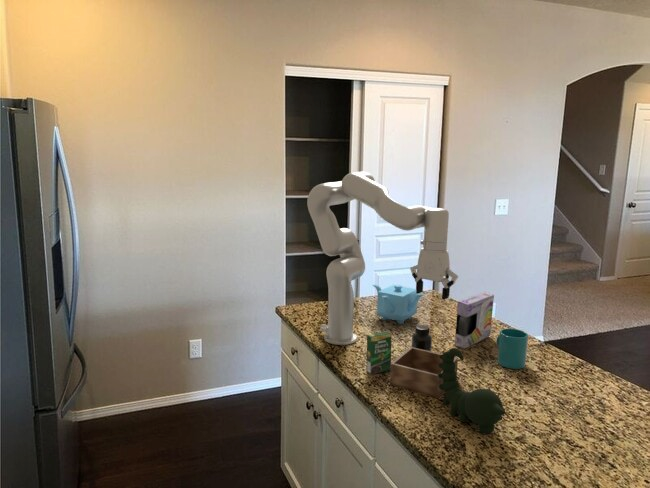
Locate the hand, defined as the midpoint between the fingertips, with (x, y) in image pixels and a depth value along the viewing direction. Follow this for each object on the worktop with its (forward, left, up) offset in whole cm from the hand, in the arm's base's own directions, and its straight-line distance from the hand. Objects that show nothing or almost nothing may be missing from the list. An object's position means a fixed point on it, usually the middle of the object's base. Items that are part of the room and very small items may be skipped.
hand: (432, 295), depth 170 cm
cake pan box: (+7, +27, -24) cm, 37 cm away
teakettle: (-28, +34, -24) cm, 50 cm away
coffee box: (-11, -17, -24) cm, 31 cm away
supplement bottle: (-3, 0, -24) cm, 24 cm away
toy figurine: (+23, -30, -24) cm, 45 cm away
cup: (+23, +15, -24) cm, 36 cm away
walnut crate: (+4, -15, -24) cm, 28 cm away
